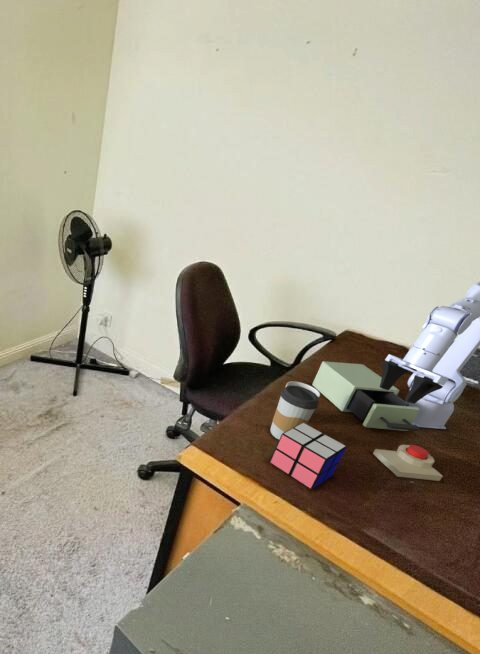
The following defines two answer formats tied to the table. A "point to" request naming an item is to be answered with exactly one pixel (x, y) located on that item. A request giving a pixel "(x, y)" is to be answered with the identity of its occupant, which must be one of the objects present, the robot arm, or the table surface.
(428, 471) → the control block
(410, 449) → the button
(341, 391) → the mint drawer box
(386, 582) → the table surface
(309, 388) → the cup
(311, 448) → the puzzle cube
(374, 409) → the pull-out drawer
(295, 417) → the coffee cup
